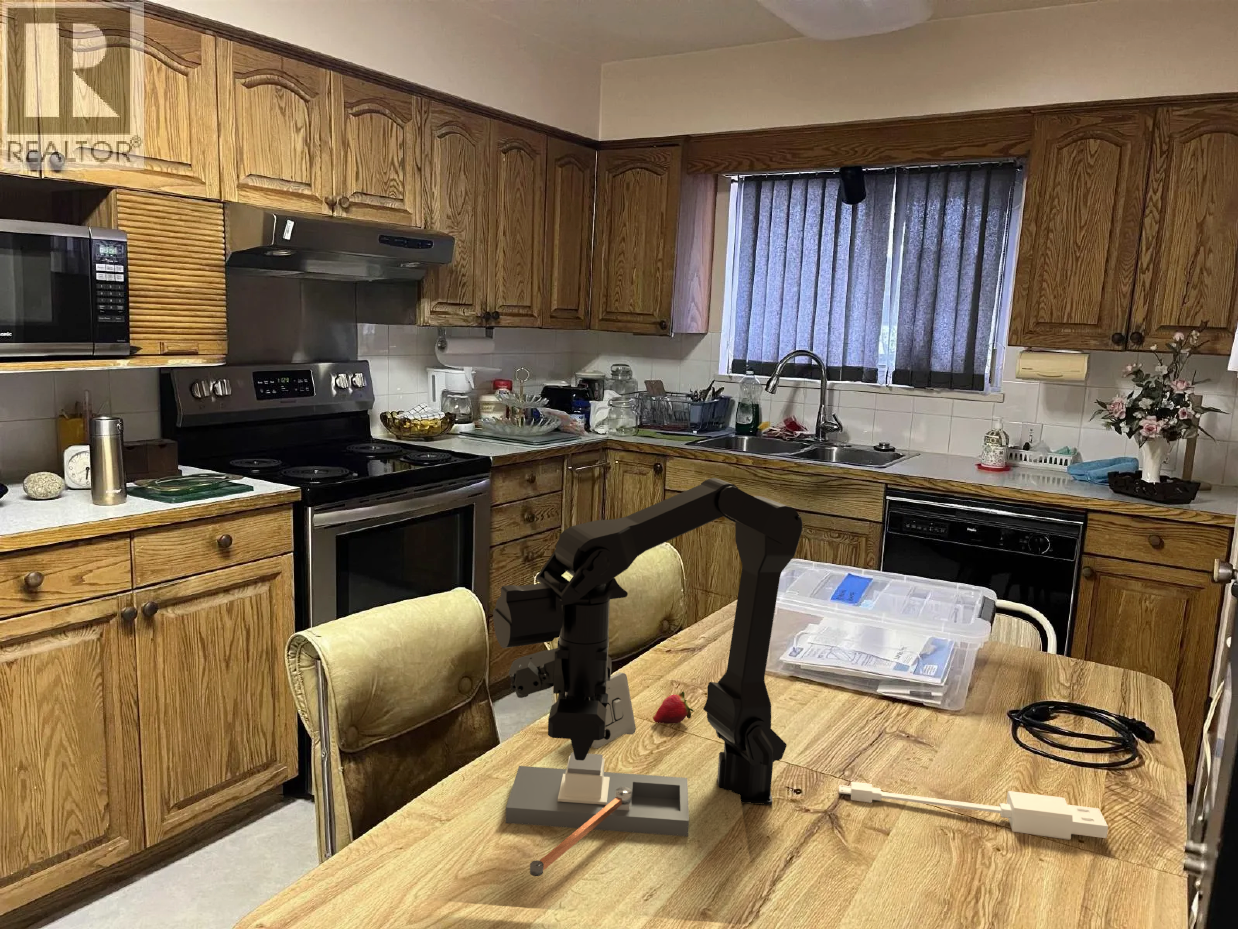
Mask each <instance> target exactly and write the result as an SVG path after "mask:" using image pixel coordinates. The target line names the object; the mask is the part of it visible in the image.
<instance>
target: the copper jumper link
mask: <svg viewBox="0 0 1238 929" xmlns="http://www.w3.org/2000/svg"><path fill="white" fill-rule="evenodd" d="M631 801H632V790H631V789H630V788H627V787H619V788H617V789H616V793H615V799H614V800H613V801H611V802H610V803H609V804H608V805H606V806H605V807H604V808H603V809H602V810H600V811H599V812H598V813H597V814H596V815H594V816H593V817H592V818H591V819H589V820H588V821H587V822H586V823H585V824H583V825H582V826H581V827H580V828H576V830H575V831H573V832H572V833H571V834H570V835H569V836H567V837H566V838H565V839H564V840H563V841H561V842H560V843H559V844H557V846H556V847H554V848H553V849H552V850H551V851H549V852H548V853H547V854H545V855H544V856H543V857H542V858H541V859H539V860H538V859H537V860H532V861H531V862H530V864H529V874H530V875H531V876H533V877H540V876H542V875H543V874H544V871H545V870H546V869H547V868H549V867H550V866H551V865H552V864H553V863H554V862H556V861H557V860H558V859H559V858H560V857H561V856H563V855H564V854H565V853H566V852H567V851H569V850H570V849H571V848H572V847H573V846H575V845H576V844H577V843H578V842H579V841H581V839H584V837H585V836H587V835H588V834H589V833H590V832H592V831H593V830H594V829H593V828H595V827H596V826H597V825H598V824H599V823H601V822H602V821H603V820H604V819H605V818H607V817H608V816H609V815H610V814H611V813H612V812H614V811H615V810H616V809H617V808H618V807H620V806H621V805H627V804H630V803H631Z"/></svg>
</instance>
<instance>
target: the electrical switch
mask: <svg viewBox="0 0 1238 929" xmlns="http://www.w3.org/2000/svg"><path fill="white" fill-rule="evenodd" d="M606 693H607V694H608V703H607V706H606V709H607V712H606V727H605V737H604V739H601V740H594V742H593V744H592V746H591V748H593V749H598V748H601V747H603V746H605V745H606V744H609V743H611V742H612V741H614V740H616V739H617V738H620V737H621V736H623V735H634V734H635V733H636V730H637V727H636V721H635V715H634V710H633V704H632V700H631V699H632V698H631V694H630V687H629V682H628V676H627V674H626V673H625V672H618V673H615V674H614V675H611V677H610V681H607V687H606Z"/></svg>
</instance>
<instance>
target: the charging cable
mask: <svg viewBox="0 0 1238 929" xmlns="http://www.w3.org/2000/svg"><path fill="white" fill-rule="evenodd" d="M838 794H843V795H850V801H856V802H857V801H858V802H861V803H869V804H871V803H873V801H879V802H882V799H887V800H895V801H902V802H911V803H917V804H918V803H920V804H923V805H924V804H927V805H931V806H932V805H934V806H941V807H950V808H957V809H962V810H963V809H965V810H972V811H979V812H987V813H996V814H999V815H1000V817H1001V818H1007V820H1008V822H1009V825H1010V829H1011V831H1012V832H1015V833H1019V834H1027V835H1034V836H1039V837H1040V836H1041V837H1047V838H1053V839H1055V838H1056V839H1060V840H1061V839H1062V840H1067V841H1069V840H1071V838H1072V835H1079V836H1087V837H1094V838H1095V837H1096V838H1101V839H1102V838H1103V839H1107V838H1108V833H1109V832H1108V830H1109V825H1108V823H1107V822H1106V818H1104V815H1103V814H1102V812H1101V809H1100V808H1098V807H1089V806H1082V805H1074V804H1068V803H1067V801H1066V799H1065V797H1061V796H1052V795H1046V794H1036V793H1027V792H1020V791H1011V790H1008V791H1007V796H1006V803H1003V802H1000V803H998V804H999V805H997V806H996V805H991V804H981V803H975V802H974V803H972V802H967V801H966V802H965V801H957V800H952V799H951V800H950V799H949V800H948V799H941V798H934V797H927V796H919V795H909V794H902V793H896V792H895V793H894V792H888V791H882V788H879V787H873V784H872V783H866V782H858V781H851V782H850V785H842V784H839V785H838Z"/></svg>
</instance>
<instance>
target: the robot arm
mask: <svg viewBox="0 0 1238 929" xmlns="http://www.w3.org/2000/svg"><path fill="white" fill-rule="evenodd" d="M720 518H725V519H728V520H729V521H730V522H733V523H734V525H735V527H734V528H735V530H734V531H735V532H734V533H735V544H736V545H735V546H736V548H737V551H738V555H739V559H740V562H741V574H740V579H739V580H740V581H739V586H738V593H737V600H736V608H735V614H734V620H733V625H732V626H733V627H732V633H731V640H730V647H729V654H728V661H727V667H726V671H725V673H723V675H722V676H721V677H720V678H719V680H718V681H717V682H715V681H709V682H708V684H707V689H706V690H707V693H706V694H707V698H706V701H705V704H704V706H703V707H702V709H703V711H704V712H706V719H707V722H708V723H709V725H710V726H711V728H712V729H714V731H715V734H716V736H717V737H718V738H719V739H721V740H722V741H723V742H724V743H723V751H720V752H719V753H718V765H717V776H716V779H717V787H718V789H722V790H724V791H730V792H732V793H733V794H736V795H739V797H740V803H741V804H742V803H743V804H756V805H772V804H773V796H772V791H771V790H772V779H773V769H774V768H773V767H774V763H775V762H776V761H781V760H782V759H783V757H784V755H785V752H786V749H787V743H786V742H785V741H784V740H783V739H782V738H781V737H780V736H779V735H778V733H776V732H775V730H773V729H772V702H771V698H770V696H769V693H768V692H769V691H768V688H767V685H766V680H765V677H766V672H767V671H766V670H767V664H768V656H769V650H770V646H771V645H770V643H771V638H772V630H773V625H774V619H775V613H776V606H777V600H778V599H777V598H778V594H779V586H780V580H781V575H782V572H783V571H784V570H785V568H787V566H788V565H789V563H790V562H791V561H792V560H793V558H794V557H795V556H796V554H797V550H798V547H799V546H798V545H799V543H800V540H801V536H802V534H803V533H802V532H803V518H802V517H801V516H800V514H799V513H798V511H797V510H796V509H795V508H793V507H792V506H789V505H786V504H784V503H781V502H778V501H776V500H774V499H771V498H768V497H764V496H759V495H756V496H755V495H754V496H753V495H751V494H749V493H747V492H745V491H743V490H742V489H740V488H739V487H738V486H737V485H735V484H734V483H731V482H729V481H725V480H723V479H720V478H716V477H712V478H708V479H705V480H704V481H702V482H701V483H700V484H698V485H697V486H694V487H692V488H690V489H687V490H684V491H682V492H681V493H677V494H676V495H673V496H671V497H669V498H665V499H664V500H662V501H659V502H656V503H655V504H652V505H650V506H648V507H645V508H643V509H640V510H638V511H636V512H634V513H631V514H629V515H627V516H624V517H619V518H614V519H612V518H611V519H598V520H592V521H589V522H588V521H587V522H583V523H578V524H574V525H571V526H569V527H567V528H566V529H564V530H563V531H562V532H561V533H560V534H559V538H558V539H557V540H558V541H557V542H556V545H555V548H554V549H555V550H553V553H552V554H551V555H550V556H549V558H548V560H547V561H546V562H545V564H544V565H543V567H541V570H540V571H539V572H538V574H537V575H536V577H535V579H536V581H537V582H539V583H534V584H533V583H532V584H524V585H515V584H510V585H503V586H501V587H500V596H499V597H498V598H497V599H496V602H495V607H494V608H493V613H492V620H493V630H494V634H495V637H496V640H497V642H498V644H499V646H500V647H501V648H502V649H509V648H514V647H515V648H517V647H522V646H523V647H524V646H530V645H531V646H532V645H535V644H536V645H537V644H538V645H539V644H544V643H550V642H553V641H554V640H555V639H557V647H556V648H550V649H544V650H541V651H537V652H534V653H531V654H527V655H525V656H521V657H518V658H516V659H515V660H513V661H512V663H511V666H510V668H509V671H508V675H509V679H510V681H511V682H510V686H509V687H510V690H511V691H513V692H515V695H516V697H517V698H518V699H523V698H527V697H528V696H529V695H531V694H534V693H538V692H541V691H545V690H547V689H551V688H552V689H553V694H556V695H557V694H558V696H557V700H556V702H554V703H553V704H552V705H551V706H550V707H551V708H550V712H549V715H548V719H547V737H550V738H552V739H562V740H563V739H567V740H569V739H570V742H571V746H572V750H573V753H574V756H575V759H576V760H585V758H586V756H587V754H589V751H590V750H591V748H592V747H591V746H592V744H593V742H594V740H601V739H604V737H605V727H606V712H607V709H606V706H607V703H608V694H607V693H606V687H607V681H610V677H611V676H612V658H611V657H610V656H609V646H610V636H609V634H610V628H609V627H610V607H611V606H610V604H611V600H617V599H624V598H627V597H628V594H629V593H628V591H627V590H625V589H624V588H623V586H621V585H620V584H619V583H618V581H617V580H616V577H617V576H619V575H621V574H622V573H624V572H625V571H627V570H628V569H629V568H630V566H631V565H632V564H634V561H635V560H636V559H637V558H638V557H639V556H640V555H643V554H644V553H645V552H647V551H649V550H651V549H653V548H656V547H658V546H660V545H662V544H665V543H667V542H669V541H671V540H673V539H675V538H676V539H677V537H680V536H683V535H685V534H688V533H689V532H691V531H695V530H696V529H697V528H700V527H702V526H705V525H707V524H709V523H711V522H714V521H717V520H718V519H720ZM565 573H568V574H569V575H571V576H572V577H571V579H569V580H568V579H567V578H565V577H564V576H563V575H564V574H565Z"/></svg>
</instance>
